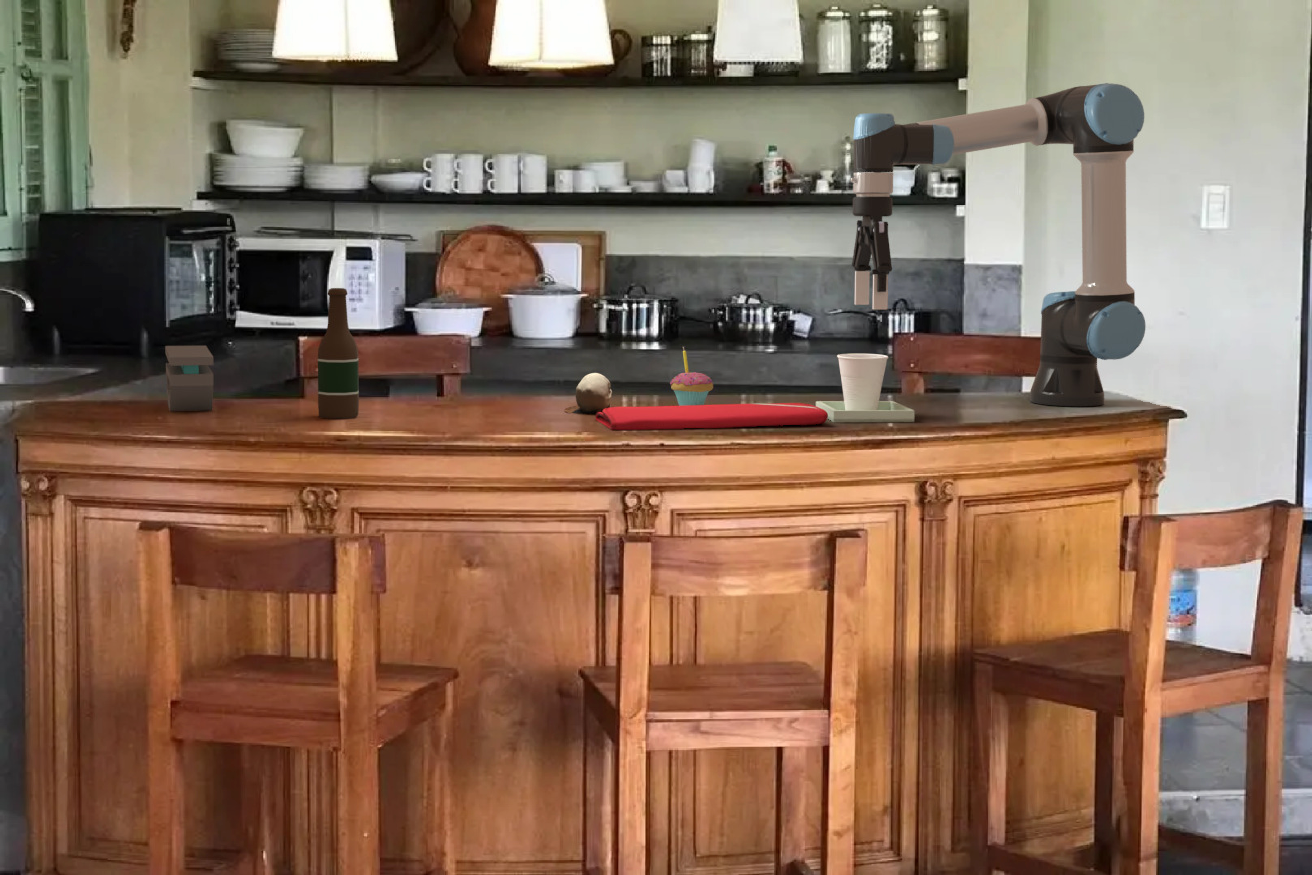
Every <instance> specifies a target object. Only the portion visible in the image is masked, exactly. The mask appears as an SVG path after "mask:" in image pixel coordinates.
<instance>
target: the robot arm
mask: <svg viewBox="0 0 1312 875" xmlns="http://www.w3.org/2000/svg"><path fill="white" fill-rule="evenodd" d="M1144 123H1145V110H1144V106H1143V103H1142V101H1141V99H1140V97H1139V96H1138V95H1137V94H1136V93H1135V92H1134V91H1133V90H1132V89H1131V88H1130V87H1128V86H1126V85H1122V84H1118V83H1109V82H1108V83H1107V82H1105V83H1098V84H1090V85H1079V86H1073V87H1071V88H1067V89H1064V90H1060V91H1056V92H1054V93H1050V94H1047V95H1043V96H1042V95H1041V96H1037V97H1032V98H1029V99H1028V100H1027V101H1026V102H1025V104H1020V105H1014V106H1008V107H1002V108H995V109H990V110H985V111H983V110H982V111H978V112H972V113H971V112H970V113H966V114H960V115H953V116H947V117H942V118H935V119H929V120H923V121H917V122H914V123H905V124H898V123H896V121H895V116H894V115H893V114H892V113H884V112H883V113H882V112H879V113H877V112H876V113H875V112H873V113H872V112H871V113H870V112H869V113H868V112H867V113H859V114H857V116H856V117H855V120H854V127H853V136H852V139H853V177H851V178H850V182H851V183H852V184H853V185H852V186H853V189H852V190H853V194H855V195H856V196H853V198H852V215H853V216H854V217H862V218H861V220H859V219H858V220H857V221H856V232H855V233H856V234H855V239H854V240H855V242H854V246H853V247H854V248H853V256H852V262H851V266H852V267H853V269H854V305H855V306H859V305H860V306H861V305H865V306H866V305H867V306H869V305H870V274H871V275H872V310H888V305H889V304H888V300H889V299H888V298H889V297H888V296H889V274H890V272H892V270H893V266H892V259H891V258H892V256H891V248H890V240H889V239H890V238H889V223H888V221H883V217H891V216H892V215H893V198H892V197H891V195H890V194H893V193H894V166H896V165H899V166H900V165H932V166H935V165H944V164H947V163H948V162H949V161H950V160H951V159H952V156H954V155H960V154H965V153H972V152H978V151H983V150H984V151H985V150H989V149H994V148H995V149H996V148H1002V147H1007V146H1013V145H1020V144H1025V143H1031V144H1032V145H1034V146H1035V147H1036V146H1044V145H1052V144H1055V145H1058V144H1061V145H1072V146H1073V147H1072V152H1073V154H1072V155H1073V156H1074V157H1075V158H1076V159H1077V160H1078V161H1079V163H1080V167H1081V170H1080V171H1081V175H1080V176H1081V243H1082V244H1081V245H1082V246H1081V249H1082V250H1081V252H1082V253H1081V254H1082V255H1081V256H1082V260H1081V261H1082V265H1081V266H1082V267H1081V268H1082V272H1081V273H1082V283H1081V285H1080V286H1079V287H1078V288H1077V289H1076V290H1074V291H1058V292H1050V293H1047V294H1045V296H1044V297H1043V299H1042V305H1041V311H1040V314H1041V320H1040V321H1041V328H1040V349H1039V350H1040V353H1039V354H1040V355H1039V357H1040V358H1039V365H1038V369H1037V372H1036V375H1035V377H1034V380H1033V383H1032V386H1031V388H1030V392H1029V402H1030V403H1033V404H1038V405H1047V406H1048V405H1049V406H1057V407H1058V406H1060V407H1062V406H1063V407H1094V406H1095V407H1096V406H1102V405H1104V404H1105V391H1104V388H1103V384H1102V380H1101V378H1100V377H1101V376H1100V374H1099V370H1098V359H1100V360H1104V361H1107V360H1113V361H1114V360H1121V359H1124V358H1126V357H1128V356H1129V357H1130V355H1132V354H1133V353H1134V352H1135V351H1136V350H1137V349H1138V348H1139V347H1140V345H1141V344H1142V341H1143V340H1144V337H1145V333H1146V319H1145V316H1144V314H1143V312H1142V311H1141V310H1140V308H1139V307H1138V306H1137V305H1135V300H1136V297H1135V289H1134V288H1133V287H1132V286H1131V285H1130V284H1129V283H1128V280H1127V279H1128V277H1127V276H1128V275H1127V267H1128V266H1127V181H1126V180H1127V164H1126V162H1127V160H1128V159H1129V158H1131V156H1132V155H1133V154H1134V152H1135V151H1134V144H1135V141H1134V140H1135V139H1136V138H1137V137H1138V134H1139V133H1140V132H1141V131H1142V129H1143V127H1144ZM871 259H872V264H873V269H872V267H871V265H870V261H871ZM870 271H871V272H870Z"/></svg>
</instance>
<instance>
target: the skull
mask: <svg viewBox="0 0 1312 875" xmlns="http://www.w3.org/2000/svg"><path fill="white" fill-rule="evenodd" d="M611 386H612V385H611V382H610V380H609V379H608V378H607V377H606V376H605V375H603V374H601V373H598V372H592V373H589V374H586V375H585V376H584V377H582V378H581V381H580V382H579V383H578V385H577V386H576V387H575V400H576V405H572V406H569V407H565V408H564V412H565V413H568V414H571V415H574V414H576V415H577V414H578V415H580V414H581V415H584V414H585V415H593V416H594V415H595V416H596V414H597V413H598V412H602V411H603V409H605V408H610V407H622V406H621V405H620V406H619V405H615V404H611V398H612V394H613V391H612V389H611ZM602 413H603V412H602Z"/></svg>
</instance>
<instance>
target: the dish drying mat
mask: <svg viewBox="0 0 1312 875" xmlns="http://www.w3.org/2000/svg"><path fill="white" fill-rule="evenodd" d="M602 412H603V413H602ZM602 412H598V413H597V414H596V415H595V421H596V422H599V423H601V424H602V425H604V426H605V427H606V428H608V429H609V430H610V431H633V430H634V431H641V430H642V431H643V430H644V431H645V430H646V431H647V430H648V431H649V430H685V429H684V428H704V429H732V428H734V427H735V428H756V427H757V426H766V427H784V426H783V425H801V426H816V424H817V425H823V424H825V422H826V421H827V420H828V419H827V418H828V413H827V412H826V411H825V410H824V409H821V408H819V407H816V405H813V404H810V403H804V402H779V403H728V404H727V403H726V404H725V403H723V404H722V403H721V404H704V405H680V406H679V405H657V406H656V405H654V406H652V405H651V406H649V405H647V406H646V405H645V406H621V407H610V408H605V409H603V411H602ZM779 425H780V426H779ZM757 428H758V427H757Z"/></svg>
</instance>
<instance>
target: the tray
mask: <svg viewBox="0 0 1312 875" xmlns="http://www.w3.org/2000/svg"><path fill="white" fill-rule="evenodd" d="M815 406H816V407H819V408H821V409H824V410H825V411H826V412H827V413H828V418H827V420H828V419H829V420H828V421H830V420H831V421H830V422H832V423H915V409H912V408H909V407H907V406H906V405H904V404H901V403H898V402H895V400H883V401H882V400H879V403H878V409H877V410H845V404H844V400H839V401H837V400H836V401H835V400H831V401H830V400H829V401H827V400H826V401H825V400H824V401H821V400H817V401H815Z"/></svg>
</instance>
